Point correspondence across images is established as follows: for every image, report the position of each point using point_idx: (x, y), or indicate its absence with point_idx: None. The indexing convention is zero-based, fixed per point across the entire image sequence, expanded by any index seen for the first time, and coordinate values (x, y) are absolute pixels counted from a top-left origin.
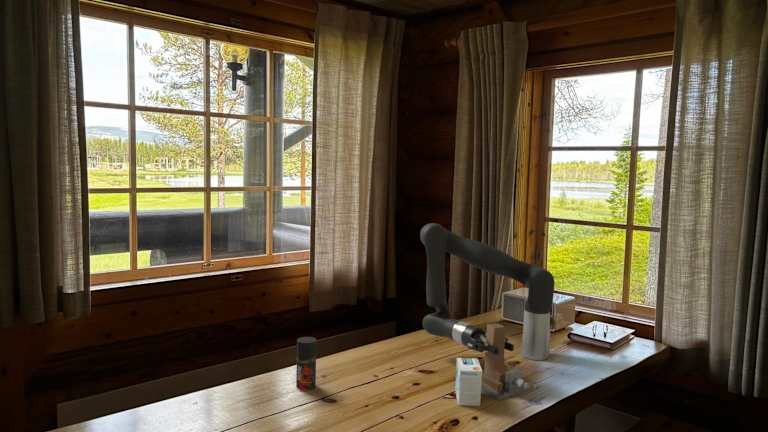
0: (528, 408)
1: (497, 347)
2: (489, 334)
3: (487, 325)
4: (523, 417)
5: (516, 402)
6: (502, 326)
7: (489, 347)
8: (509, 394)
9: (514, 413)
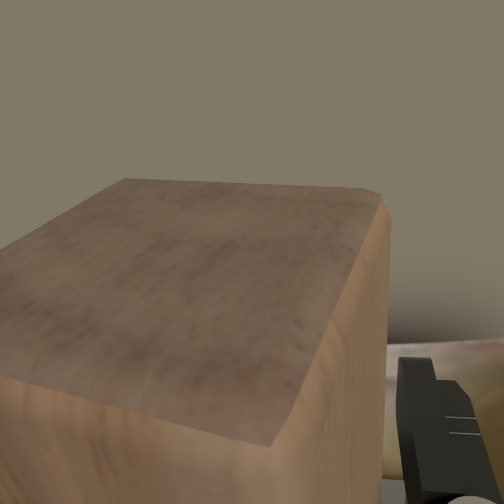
0: (390, 370)
1: (403, 368)
2: (357, 480)
3: (311, 426)
4: (476, 340)
5: (396, 430)
6: (135, 190)
7: (489, 466)
8: (383, 481)
9: (494, 373)
